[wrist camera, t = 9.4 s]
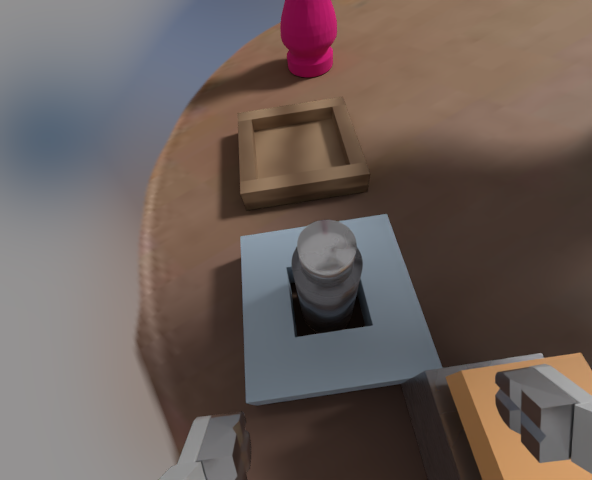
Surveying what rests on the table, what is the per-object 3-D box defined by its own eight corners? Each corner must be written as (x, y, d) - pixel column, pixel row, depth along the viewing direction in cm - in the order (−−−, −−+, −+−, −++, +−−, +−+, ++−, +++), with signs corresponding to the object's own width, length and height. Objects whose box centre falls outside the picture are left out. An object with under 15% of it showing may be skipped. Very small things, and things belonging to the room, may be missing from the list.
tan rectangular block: (496, 376, 19) (580, 352, 12) (541, 477, 16) (676, 511, 10) (417, 388, 19) (461, 370, 12) (448, 491, 16) (524, 533, 10)
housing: (488, 370, 20) (541, 353, 15) (536, 482, 17) (624, 506, 12) (400, 383, 20) (425, 370, 15) (433, 497, 17) (477, 528, 12)
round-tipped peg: (346, 281, 25) (356, 206, 16) (357, 329, 23) (376, 273, 14) (298, 288, 25) (283, 218, 16) (305, 337, 23) (292, 286, 14)
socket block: (381, 233, 27) (386, 213, 24) (429, 379, 20) (444, 373, 18) (248, 254, 27) (240, 236, 24) (256, 405, 21) (246, 403, 18)
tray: (341, 115, 36) (342, 96, 34) (367, 191, 29) (370, 173, 27) (242, 131, 36) (237, 113, 34) (246, 210, 30) (240, 193, 27)
